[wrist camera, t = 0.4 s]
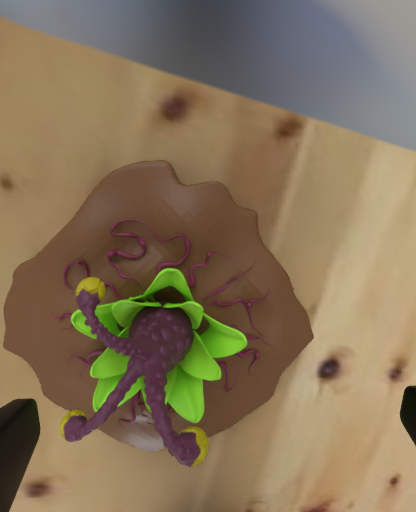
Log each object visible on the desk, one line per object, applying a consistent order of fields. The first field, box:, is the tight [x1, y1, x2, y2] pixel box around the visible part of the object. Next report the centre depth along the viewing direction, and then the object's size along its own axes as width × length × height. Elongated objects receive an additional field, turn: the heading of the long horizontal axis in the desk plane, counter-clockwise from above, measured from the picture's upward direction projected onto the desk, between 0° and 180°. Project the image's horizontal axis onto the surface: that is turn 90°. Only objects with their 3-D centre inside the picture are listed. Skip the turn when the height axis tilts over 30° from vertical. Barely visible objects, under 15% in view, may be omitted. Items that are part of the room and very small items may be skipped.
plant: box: [3, 160, 314, 467], centre depth 16 cm, size 20×20×11 cm
